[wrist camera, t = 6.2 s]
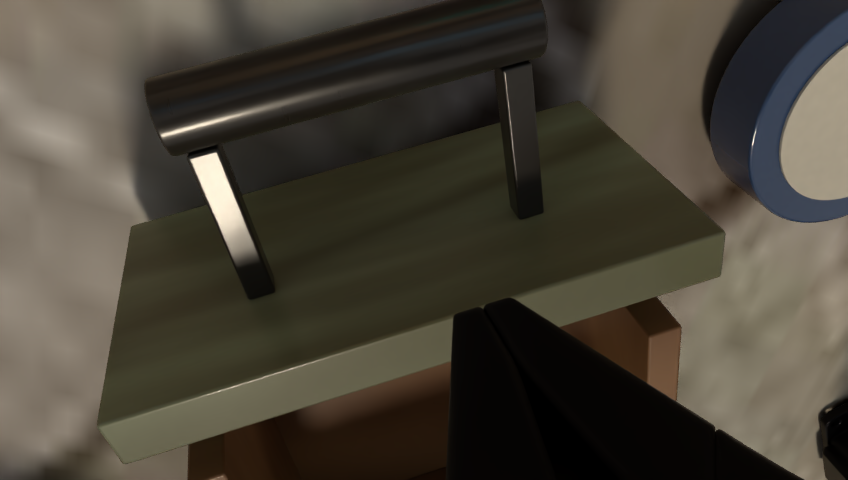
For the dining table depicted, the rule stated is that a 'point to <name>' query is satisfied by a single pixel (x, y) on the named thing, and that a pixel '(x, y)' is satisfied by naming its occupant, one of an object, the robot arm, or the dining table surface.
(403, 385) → the drawer
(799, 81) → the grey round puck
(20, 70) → the dining table surface
